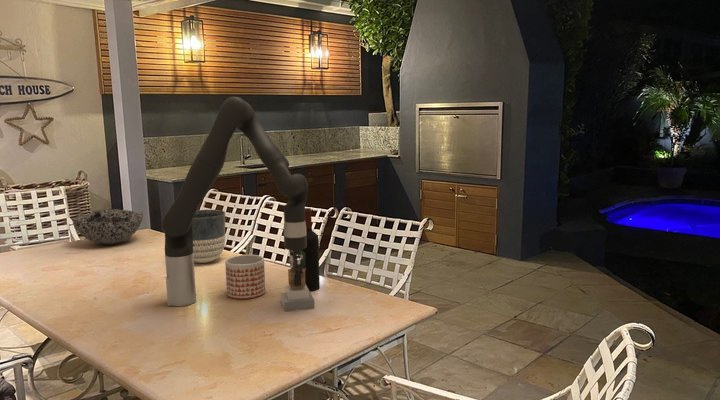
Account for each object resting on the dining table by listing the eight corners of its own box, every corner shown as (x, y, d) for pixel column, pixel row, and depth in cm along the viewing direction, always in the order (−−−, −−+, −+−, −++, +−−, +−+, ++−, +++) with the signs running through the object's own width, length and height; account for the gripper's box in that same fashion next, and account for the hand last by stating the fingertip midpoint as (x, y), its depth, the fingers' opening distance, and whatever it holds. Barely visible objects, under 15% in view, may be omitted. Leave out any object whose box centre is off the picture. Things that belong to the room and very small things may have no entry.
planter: (236, 259, 242) (234, 212, 239) (202, 270, 226) (199, 219, 223) (206, 253, 253) (203, 208, 249) (171, 263, 237) (168, 215, 233)
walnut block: (290, 287, 182) (290, 273, 181) (288, 283, 186) (288, 269, 185) (305, 286, 183) (305, 272, 182) (303, 281, 188) (302, 267, 187)
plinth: (284, 311, 180) (283, 293, 179) (280, 301, 189) (280, 284, 188) (314, 308, 182) (314, 290, 181) (309, 298, 192) (308, 281, 191)
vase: (247, 284, 207) (245, 252, 205) (273, 291, 199) (272, 257, 197) (218, 295, 196) (217, 260, 194) (245, 302, 188) (243, 266, 186)
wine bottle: (316, 291, 198) (314, 211, 193) (296, 290, 200) (294, 210, 195) (321, 285, 206) (320, 207, 201) (302, 284, 207) (300, 206, 202)
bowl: (61, 250, 262) (58, 219, 259) (102, 235, 292) (99, 207, 290) (121, 252, 257) (118, 221, 254) (156, 236, 287) (154, 209, 285)
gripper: (310, 238, 176) (311, 288, 179) (302, 228, 189) (304, 276, 192) (286, 239, 174) (288, 290, 177) (281, 230, 187) (282, 277, 190)
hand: (296, 282), depth 184 cm, fingers closed on walnut block, 5 cm apart
